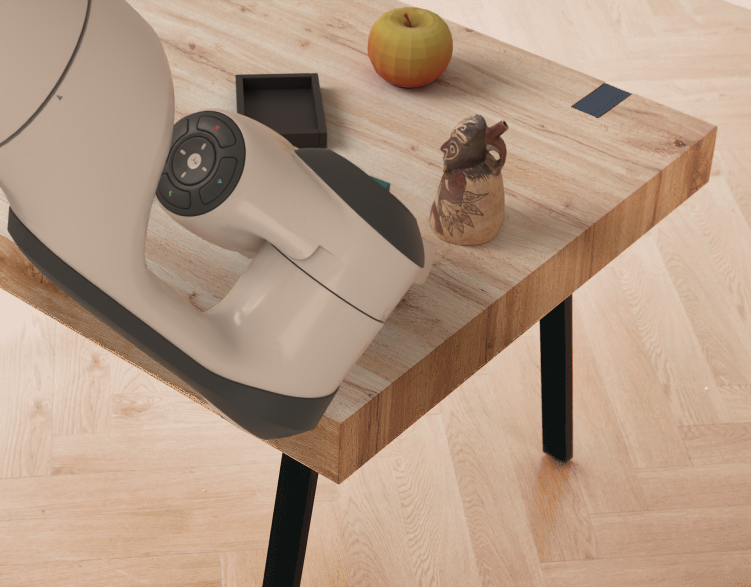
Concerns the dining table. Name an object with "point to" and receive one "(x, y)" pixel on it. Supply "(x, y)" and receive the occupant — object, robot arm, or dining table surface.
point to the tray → (285, 105)
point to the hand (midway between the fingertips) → (341, 239)
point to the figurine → (471, 184)
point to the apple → (410, 46)
